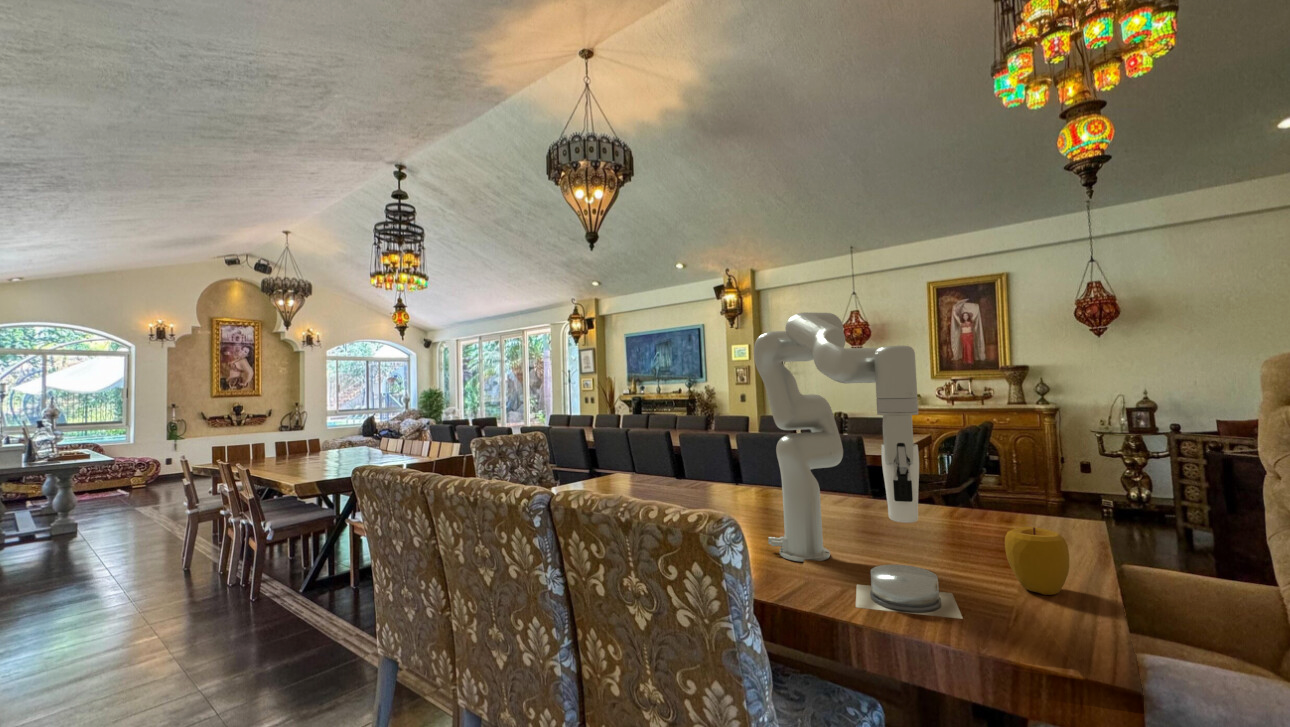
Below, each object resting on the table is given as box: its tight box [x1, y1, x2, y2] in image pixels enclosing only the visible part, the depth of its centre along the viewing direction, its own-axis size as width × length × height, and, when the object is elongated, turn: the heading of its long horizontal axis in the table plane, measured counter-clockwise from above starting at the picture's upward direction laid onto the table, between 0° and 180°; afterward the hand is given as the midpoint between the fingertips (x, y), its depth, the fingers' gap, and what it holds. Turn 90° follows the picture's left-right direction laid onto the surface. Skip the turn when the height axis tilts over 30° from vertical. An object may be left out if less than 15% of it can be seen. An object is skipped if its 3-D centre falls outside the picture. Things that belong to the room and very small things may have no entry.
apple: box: [1004, 526, 1070, 596], centre depth 111 cm, size 11×11×13 cm
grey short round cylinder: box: [870, 564, 941, 614], centre depth 106 cm, size 13×13×5 cm
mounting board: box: [855, 583, 964, 620], centre depth 106 cm, size 18×13×1 cm
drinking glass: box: [880, 443, 920, 524], centre depth 107 cm, size 7×7×15 cm
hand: (901, 496), depth 107 cm, fingers closed on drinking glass, 6 cm apart
